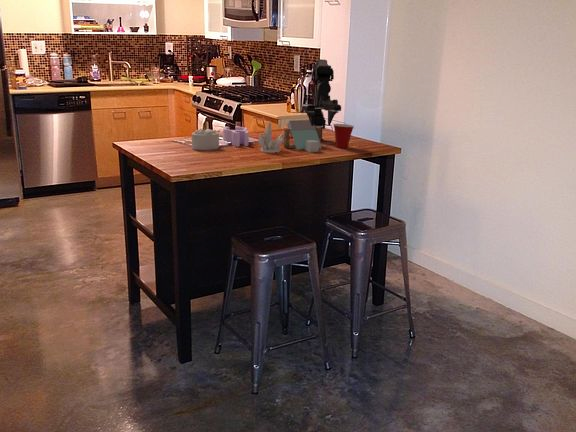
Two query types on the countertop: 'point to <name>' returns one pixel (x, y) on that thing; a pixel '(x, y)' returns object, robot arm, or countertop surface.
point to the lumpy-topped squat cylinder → (205, 139)
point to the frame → (287, 145)
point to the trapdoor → (302, 132)
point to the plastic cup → (342, 134)
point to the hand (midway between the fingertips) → (320, 125)
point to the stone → (311, 146)
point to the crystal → (270, 141)
